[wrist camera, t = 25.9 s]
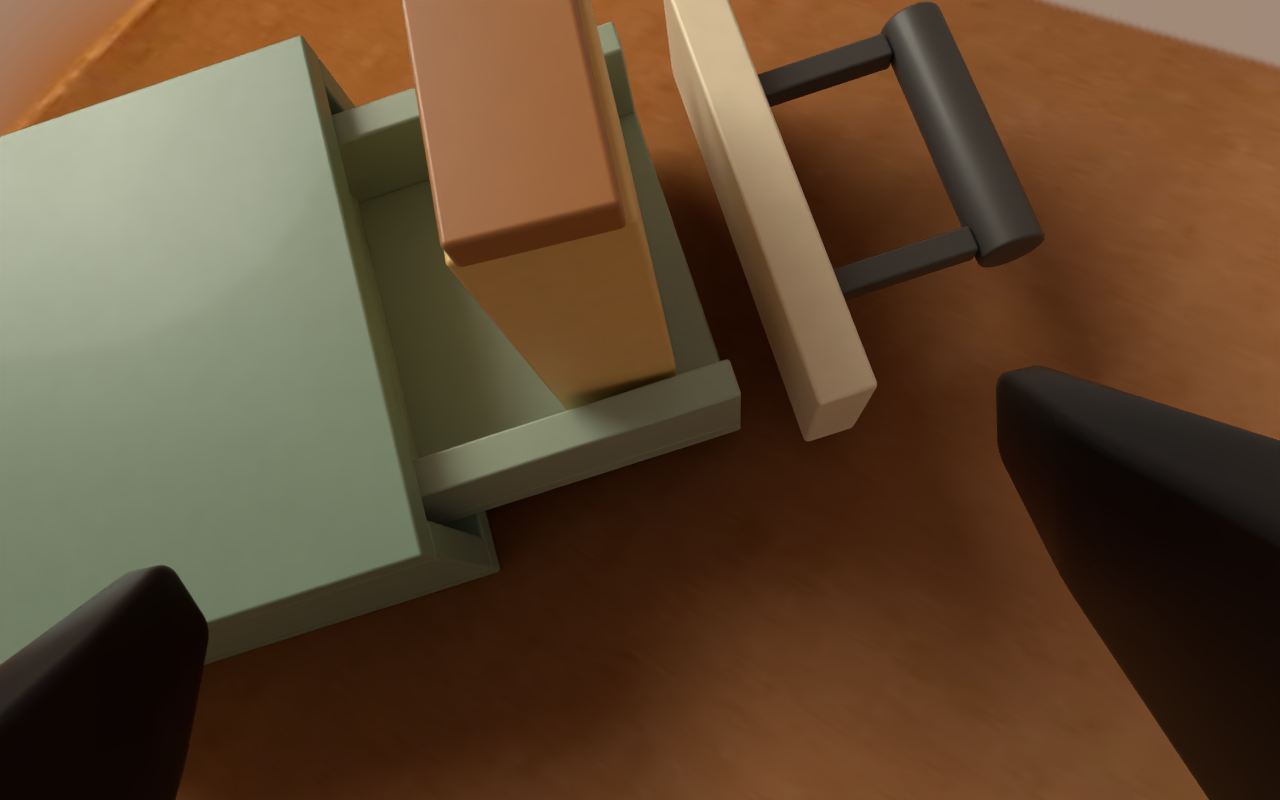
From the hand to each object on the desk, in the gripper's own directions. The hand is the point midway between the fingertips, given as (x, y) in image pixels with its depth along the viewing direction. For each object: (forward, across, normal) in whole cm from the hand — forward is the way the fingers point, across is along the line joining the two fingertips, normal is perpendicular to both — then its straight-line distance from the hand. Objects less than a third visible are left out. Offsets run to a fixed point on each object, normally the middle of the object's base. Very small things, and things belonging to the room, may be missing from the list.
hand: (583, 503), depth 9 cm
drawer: (+13, -2, +3) cm, 13 cm away
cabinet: (+13, +10, +4) cm, 17 cm away
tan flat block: (+12, 0, +2) cm, 12 cm away
